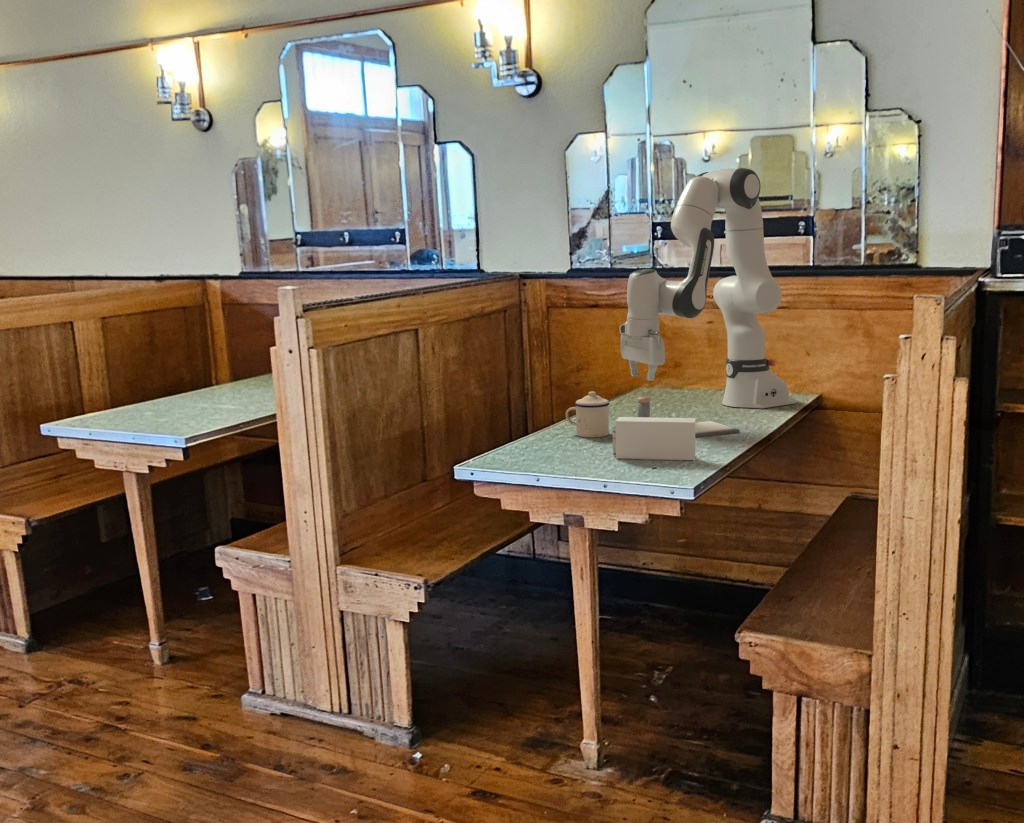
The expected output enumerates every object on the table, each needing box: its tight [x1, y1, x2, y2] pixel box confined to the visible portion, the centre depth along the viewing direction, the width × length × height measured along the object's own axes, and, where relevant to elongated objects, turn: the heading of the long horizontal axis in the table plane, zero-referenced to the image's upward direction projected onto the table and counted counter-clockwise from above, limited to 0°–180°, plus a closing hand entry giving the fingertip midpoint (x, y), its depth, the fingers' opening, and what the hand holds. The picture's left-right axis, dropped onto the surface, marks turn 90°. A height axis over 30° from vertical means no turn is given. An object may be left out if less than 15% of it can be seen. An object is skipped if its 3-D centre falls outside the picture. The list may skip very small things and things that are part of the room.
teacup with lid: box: [565, 391, 610, 439], centre depth 281 cm, size 12×9×12 cm
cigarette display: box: [612, 416, 697, 462], centre depth 251 cm, size 20×6×9 cm, turn 75°
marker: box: [636, 396, 651, 417], centre depth 294 cm, size 4×4×8 cm
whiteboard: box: [695, 420, 741, 438], centre depth 281 cm, size 25×14×1 cm, turn 110°
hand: (642, 378), depth 292 cm, fingers open, 8 cm apart
